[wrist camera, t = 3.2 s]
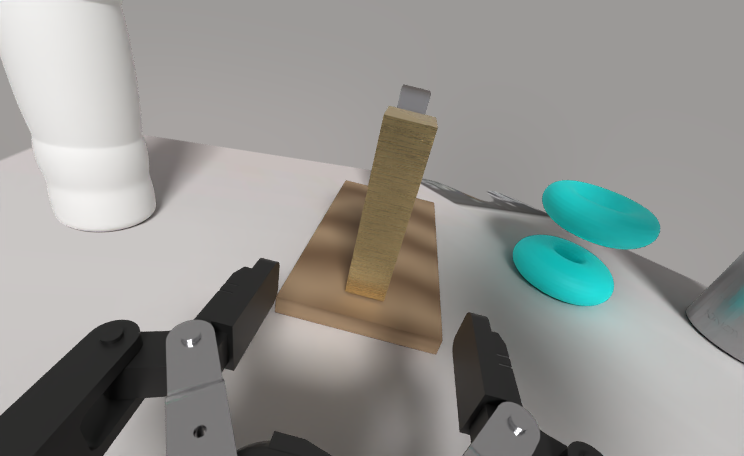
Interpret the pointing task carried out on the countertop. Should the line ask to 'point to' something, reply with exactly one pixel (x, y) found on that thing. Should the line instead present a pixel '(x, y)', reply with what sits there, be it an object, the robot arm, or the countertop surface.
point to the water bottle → (80, 108)
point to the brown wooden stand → (333, 260)
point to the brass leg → (390, 199)
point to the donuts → (592, 223)
